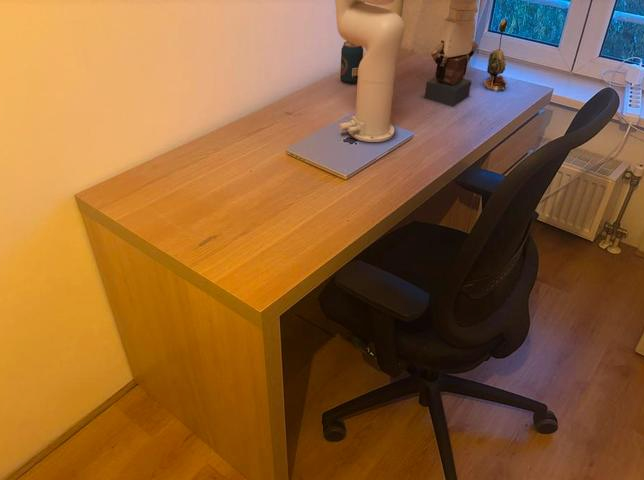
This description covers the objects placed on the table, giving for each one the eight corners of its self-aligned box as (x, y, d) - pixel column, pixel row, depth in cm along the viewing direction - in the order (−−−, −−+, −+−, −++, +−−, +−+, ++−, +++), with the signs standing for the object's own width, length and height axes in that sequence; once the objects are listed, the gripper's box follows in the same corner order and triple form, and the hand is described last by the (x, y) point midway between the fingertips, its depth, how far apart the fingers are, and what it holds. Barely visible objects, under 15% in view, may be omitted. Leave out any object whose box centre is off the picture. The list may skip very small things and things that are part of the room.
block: (452, 106, 162) (455, 90, 158) (424, 97, 167) (426, 81, 163) (468, 96, 168) (471, 80, 164) (440, 87, 172) (443, 72, 169)
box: (463, 80, 164) (468, 55, 159) (452, 85, 160) (457, 61, 156) (446, 75, 167) (450, 50, 162) (435, 80, 163) (439, 56, 159)
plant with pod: (473, 88, 172) (487, 22, 159) (489, 78, 179) (504, 14, 166) (497, 95, 169) (513, 28, 155) (512, 84, 175) (529, 19, 162)
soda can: (337, 78, 177) (338, 41, 169) (356, 76, 179) (359, 39, 171) (344, 86, 172) (346, 48, 164) (364, 84, 174) (367, 46, 166)
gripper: (476, 6, 157) (464, 67, 168) (428, 14, 151) (419, 76, 162) (494, 13, 152) (480, 75, 163) (444, 21, 146) (434, 85, 157)
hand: (450, 75), depth 163 cm, fingers closed on box, 7 cm apart
